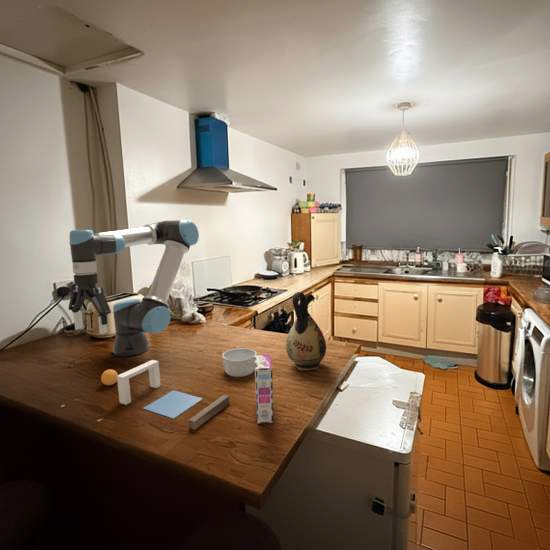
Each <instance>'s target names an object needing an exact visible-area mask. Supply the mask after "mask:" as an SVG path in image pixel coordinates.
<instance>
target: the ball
mask: <svg viewBox="0 0 550 550" xmlns="http://www.w3.org/2000/svg"><path fill="white" fill-rule="evenodd" d="M118 375H119V374H118V372H117V370H114V369H111V368H110V369H107V370H105V371H104V372H103V373H102V374H101V377H100V380H101V382H102V384H103V385H105V386H112V385H114V384H116V383H117V376H118Z"/></svg>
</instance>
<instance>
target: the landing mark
mask: <svg viewBox="0 0 550 550" xmlns="http://www.w3.org/2000/svg"><path fill="white" fill-rule="evenodd" d="M203 399H204V398H202V397H198V396H195V395H192V394H188V393H185V392H182V391H178V390H174V389H173V390H172V391H170V392H168V393H166V394H164V395H163V396H162V397H159V398H158V399H156V400H154V401H152V402H151V403H150V404H148V405H145V406H144V407H143V408H142V409H143V410H145V411H148V412H151V413H155V414H157V415H161V416H164V417H167V418H168V419H169V418H170V419H173V420H174V419H176V418H177V417H179V416H180V415H182V414H183V413H185V412H186V411H188V410H189V409H191V408H192V407H194V406H195V405H196V404H198V403H200V402H201V401H203Z"/></svg>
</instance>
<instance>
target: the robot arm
mask: <svg viewBox="0 0 550 550" xmlns="http://www.w3.org/2000/svg"><path fill="white" fill-rule="evenodd" d="M68 238H69V245H70V247H69V248H70V255H71V263H72V272H73V274H74V275H73V283H74V285H73V286H71V293H70V298H69V302H68V303H69V304H68V309H67V310H69V311H71V313H72V315H73V320H74V329H75V331H78V330H81V329H84V322H83V321H84V320H83V312H82V307H83V304H84V303H85V300H87V301H89V302H91V305H93V307H94V308H95V310H96V312H97V314H98V316H97V318H98V320H97V321H98V328H99V335H103V334H107V333H109V328H108V315H110V314H111V313H112V314H113V320H114V328H115V329H114V330H115V331H114V332H115V339H114V343H113V347H112V352H113V353H114V354H115V356H116V355H117V356H118V357H130V356H136V355H140V354H143V353H145V352H147V351H148V350H149V349H150V344H149V341H148V338H147V336H146V334H145V333H147V334H159V333H162V332H163V331H165V330H166V328H168V326H169V324H170V322H171V315H170V314H171V312H170V310H169V308H170V307H169V306H170V305H169V304H168V300H169V297H170V294H171V292H172V289H173V286H174V283H175V279H176V277H177V274H178V271H179V269H180V266H181V263H182V260H183V257H184V255H185V254H187V253H189V251H190V248H191V246H194V245H196V244H197V243H198V241H199V229H198V226H197V225H196V224H195V222H194V221H192V220H190V219H188V220H187V219H181V220H179V219H177V220H176V219H175V220H174V219H173V220H162V221H159V222H154V223H153V222H152V223H150V224H149V223H148V224H144V225H143V227H135V228H127V229H120V230H112V231H111V230H110V231H103V232H97V233H94V231H93V230H92V229H77V230H76V229H74V230H70V232H69V237H68ZM139 245H149V246H152V245H164V246H165V248H164V252H163V253H162V257H161V259H160V262H159V265H158V267H157V269H156V272H155V275H154V277H153V280H152V283H151V284H150V288H149V291H148V293H147V295H145V296H144V297H142V298H141V299H140V298H135V299H128V300H124V301H123V300H122V301H119V302H116V303H114V304H113V306H112V308H113V309H112V311H113V312H112V311H111V308H110V306H109V304H108V301H107V299H106V296H105V294H104V290H103V289H104V288H103V287H96V286H97V284H98V283H99V278H98V273H97V272H98V268H97V267H98V266H97V259H96V258H97V256H105V255H106V256H107V255H116V254H121V253H123V252H124V250H125V248H129V247H133V246H139ZM114 354H113V355H114Z"/></svg>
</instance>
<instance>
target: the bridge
mask: <svg viewBox="0 0 550 550" xmlns="http://www.w3.org/2000/svg"><path fill="white" fill-rule="evenodd" d="M159 362H160V361H159V360H155V359H150V360H148V361H146V362H145V363H142V364H140V365H138V366H136V367H133V368H130V369H129V370H127V371H124V372H122V373H120V374H118V376H117V381H116V383H117V391H118V400H119V404H122V405H124V406H125V405H126V406H127V405H128V404H130V403H132V397H131V386H130V379H131V378H133V377H135V376H138V375H139V374H141V373H145V372H146V371H148V378H149V387H150V388H154V389H157V388H159V387H161V385H162V384H161V375H160V364H159Z"/></svg>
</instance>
